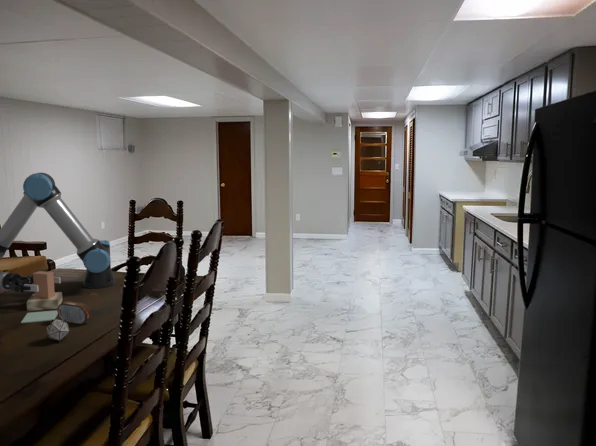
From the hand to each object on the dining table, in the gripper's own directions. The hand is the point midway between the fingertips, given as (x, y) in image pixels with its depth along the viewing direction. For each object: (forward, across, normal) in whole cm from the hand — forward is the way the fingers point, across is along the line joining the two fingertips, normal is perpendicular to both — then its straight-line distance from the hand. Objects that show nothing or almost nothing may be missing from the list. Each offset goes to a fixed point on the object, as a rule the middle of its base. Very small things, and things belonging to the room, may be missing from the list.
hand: (49, 284), depth 209 cm
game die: (+30, +33, -10) cm, 46 cm away
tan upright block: (-3, 0, -6) cm, 7 cm away
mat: (+6, +13, -10) cm, 18 cm away
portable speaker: (+24, +16, -10) cm, 30 cm away
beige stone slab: (-3, 0, -10) cm, 10 cm away
